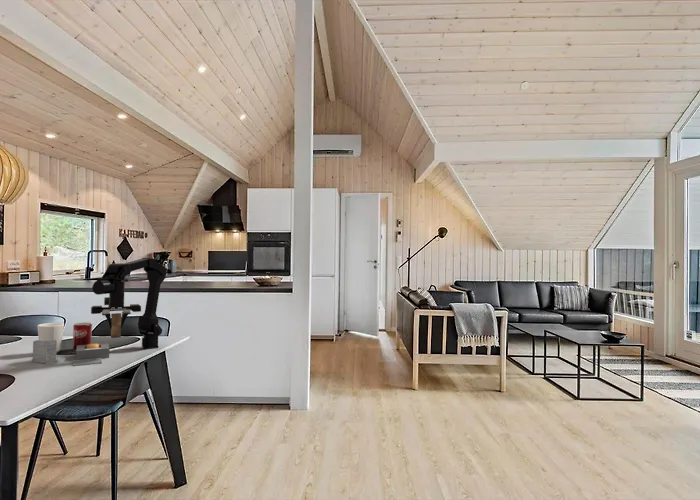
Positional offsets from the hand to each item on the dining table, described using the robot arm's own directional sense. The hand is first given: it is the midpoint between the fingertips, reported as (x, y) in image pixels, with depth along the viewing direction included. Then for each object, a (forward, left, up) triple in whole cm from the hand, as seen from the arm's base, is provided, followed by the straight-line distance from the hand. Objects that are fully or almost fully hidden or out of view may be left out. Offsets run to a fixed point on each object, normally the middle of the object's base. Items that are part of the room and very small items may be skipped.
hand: (115, 328), depth 185 cm
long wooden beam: (0, 0, -4) cm, 4 cm away
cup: (+24, -21, -13) cm, 35 cm away
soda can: (+12, -23, -13) cm, 29 cm away
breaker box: (+8, -7, -12) cm, 17 cm away
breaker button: (+8, -7, -10) cm, 15 cm away
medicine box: (+25, -5, -13) cm, 29 cm away
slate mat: (+10, +4, -12) cm, 17 cm away
